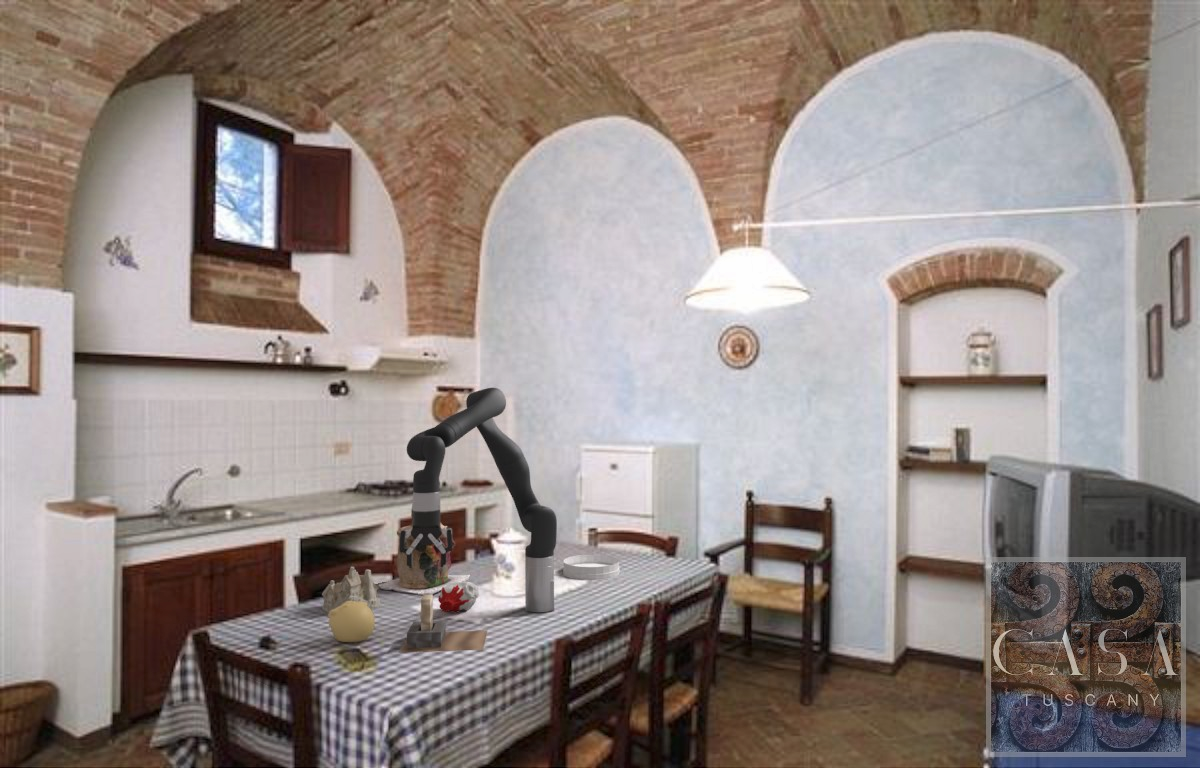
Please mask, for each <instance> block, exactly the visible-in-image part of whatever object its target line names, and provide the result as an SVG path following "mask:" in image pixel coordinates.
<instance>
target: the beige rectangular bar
mask: <svg viewBox="0 0 1200 768" xmlns="http://www.w3.org/2000/svg"><path fill="white" fill-rule="evenodd" d="M433 595H434V594H432V595H422V597H421V599H420V622H421V631H429V630H433V621H434V597H433Z"/></svg>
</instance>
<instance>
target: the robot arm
mask: <svg viewBox="0 0 1200 768" xmlns="http://www.w3.org/2000/svg"><path fill="white" fill-rule="evenodd" d="M465 402H466V403H465V404H466V408H465V409H462V410H460V411H458V412H456V413H455V414H453V415H451V416H449V417H447V418H445V419H444V420H442V421H440V423H438V424H437V425H435V426H434V427H431V428H428V429H427V430H424V431H421V432H419V433H417V434H414V436H412V437H411V438H410V439H409V441H408V443H407V445H406V454H407V456H408V457H409V458H410V459H411V460H413V461H414V462H415V461H416V462H425V465H424V467H423V469H420V470H417V471H415V472H414V474H413V475H412V476H413V477H412V478H413V479H412V481H413V482H412V484H413V485H412V489H413V490H412V491H413V492H412V493H413V494H412V505H411V511H412V512H411V514H412V516H411V521H412V522H413V527H412V530H406V529H403V530H402V531H401V533H400V537H399V539H400V552H401V553H402V552H403V553H406V555H407V566H409V568H412V567H413V553H412V551H413V550H414V548H415V547H416V546H417V544H419V545H420V546H424V545H429V546H431V545H433V544H435V546H436V547H437V548H438V549H439V550H440V551H441V567H444V565H446V562H447V552H449V551H450V552H452V551H453V549H454V547H453V541H454V539H453V538H454V537H453V528H451V527H449V529H443V530H442V529H441V526H440V522H441V495H440V476H441V472H442V471H441V470H442V469H443V464H444V460H445V456H446V448H449V447H451V446H452V445H453V444H455V443H457V442H458V440H460V439H462V438H463V437H464V436H465V435H466V434H468V433H469V432H471V431H472V430H474V429H475V428H477V430H478V432H479V434H480V435H481V436H482V438H483V440H484V442H485V444H486V446H487V449H488V450H489V452H490V454H491V456H492V459H493V460H494V463H495V465H496V467H497V470H498V472H499V474H500V476H501V478H502V479H503V482H504V484H505V485H506V488H507V490H508V492H509V493H510V497H511V498H512V501H513V503H514V505H515V509H516V511H517V513H518V517H519V520H520V524H521V525H522V527H523V528H524V529H525V531H527V532H529V533H530V543H529V544H528V545H527V546H526V547H525V549H524V550H525V551H524V552H525V553H524V555H525V556H524V557H525V561H524V562H525V563H524V565H525V581H524V582H525V584H524V587H525V598H524V599H525V602H524V603H525V610H526V611H527V612H531V613H547V612H551V611H555V576H554V575H555V565H554V563H555V560H554V558H555V557H554V555H555V553H554V552H555V549H556V545H557V535H558V534H557V528H558V522H557V521H558V520H557V514H556V513H555V511H554V510H553V509H552V508H550V507H548V506H544V505H541V504H540V502H539V501H538V499H537V497H536V495H535V493H534V490H533V488H532V485H531V472H530V467H529V464H528V461H527V459H526V457H525V454H524V452H523V450H522V449H521V447H520V446H519V445H518V444H517V443H516V442H515V441H514V440H513V439H512V438H511V437H509V436H508V435H506V434H505V433H504V432H503V431H502V430H501V429H500V428H499V427H498V425H497V423H496V422H495V420H494V418H497V417H498V416H500V415H501V414H502V413H503V412H504V411H505V409H506V405H507V399H506V396H505V394H504V393H503V391H502V390H501V389H499V388H496V387H487V388H483V389H479V390H477V391H474V392H471V393H469V394H468V395H467V397H466V400H465ZM442 533H443V534H444V536H445V537H447V543H448V547H445V546H444V545H443V543H442V542H441V540H440V539H439V537H440V536H441V534H442ZM409 534H411V536H412V537H413V538H414V540H415V541H414V542H413V543H412V545H411V546H410V547H409V548H406V538H408V536H409Z"/></svg>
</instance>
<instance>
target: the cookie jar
mask: <svg viewBox="0 0 1200 768" xmlns="http://www.w3.org/2000/svg"><path fill="white" fill-rule="evenodd" d="M411 517H412V510H411ZM440 526H441V529H442V530H443V529H449V528H450V527H449V526H448V525H443V524H442V522H441V521H440ZM412 527H413V522H412V523H411V524H410V525H407V526H402V527H400V528H398V529H397V531H396V534H397V536H398V537H399V539H398V548H397V560H396V568H397V573H398V578H396V579H392V580H389V581H386V582H384V583H380V584H378V585H377V587H378V589H380V590H385V591H395V592H398V593H405V594H414V595H420V596H423V595H432V594H433V595H434V594H436V593H439V592H441V590H442V588H443V587H445V586H447V585H449V584H451V583H454V582H468V581H469V579H470V574H456V575H453V574H452V575H450V574H449V571H450V569H451V567H452V562H451V554H450V553H451V551H449V552H447V562H446V565H444V567H441V551H440V550H439V549H438V548H437V547H436V546H435V544H433V545H431V546H429V545H424V546H420V545H419V544H417V546H416V547H415V548H414V550H413V551H412V553H413V567H412V568H409V566H407V555H406V553H403V552H402V553H401V552H400V533H401V531H402V530H403V529H406V530H412ZM439 539H440V540H441V542H442V543H443V545H444V546H445V547H448V543H447V537H445V536H444V534H443V533H442V534H441V536H440V537H439ZM414 541H415V540H414V538H413V537H412V536H411V534H409V536H408V538H406V548H409V547H410V546H411V545H412V543H413V542H414ZM455 546H456V542H455V541H454V540H453V548H454V547H455Z"/></svg>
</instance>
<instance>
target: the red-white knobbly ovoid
mask: <svg viewBox="0 0 1200 768" xmlns="http://www.w3.org/2000/svg"><path fill="white" fill-rule="evenodd" d="M439 594H440V595H438V599H437V601H438V602H439V609H440V610H441V611H442V612H447V611H448V612H452V613H454V612H457V613H458V611H459V612H461V611H463V610H464V611H466V610H468V611H469V609H471V608H472V607H473V606H474V605H475V604H476V602H477V599H478V598H479V595H480V594H479V586H477V585H476V584H474V583H473V582H471V581H466V582H454V583H451V584H449V585H447V586H445V587H443V588H442V590H440V593H439ZM470 607H471V608H470Z"/></svg>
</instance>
